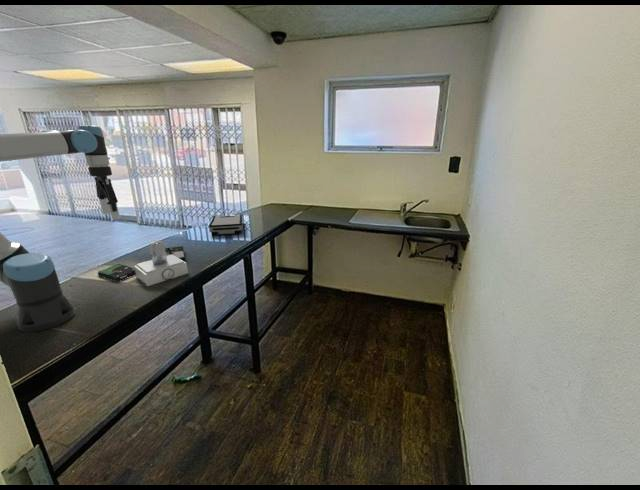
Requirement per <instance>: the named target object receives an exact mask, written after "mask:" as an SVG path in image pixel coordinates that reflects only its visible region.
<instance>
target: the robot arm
mask: <svg viewBox="0 0 640 490" xmlns="http://www.w3.org/2000/svg"><path fill="white" fill-rule="evenodd" d="M105 142H106V141H105V137H104V133H103V129H102V128H101V127H100V126H98V125H78V126H77V129H64V130H63V129H43V130H42V131H37V132H20V133H18V132H17V133H3V134H0V163H1V162H2V163H3V162H11V161H17V160H18V161H20V160H27V159H36V158H43V157H44V158H45V157H53V156H62V155H73V154H84V156H85V157H84V158H85V161H86V165H87V167H88V168H87V169H88V172H89V175H90V177H94V182H95V189H96V196H97V199H99V203H100V207H101V213H102V215H109V214H110V216H111V220H118V219H121V218H120V212H119V209H118V208H119V207H118V202H119V200H118V199H117V196H116V193H115V189H114V187H113V184H112V180H111V178H108V177H109V176H110V177H111V176H112V175H113V172H112V168H111V166H109V165H110V159H111V157H109V156H108V151H107V147H106V143H105ZM0 282H1V283H2V284H4V285H5V286H7V287H8V288H10V289H11V290H10V291H11V292H12V295H13V297H14V299H15V302H16V304H17V314H16V315H17V317H16V325H17V328H18V329H19V331H21V332H25V333H33V332H41V331H45V330H49V329H51V328H54V327H57V326H59V325H61V324H64V323H65V322H67V321H69V320H70V319H72V317H74V316H75V315H76V308H75V306H74V304H73V303H72V302H71V301H70V300H69V299H68V298H67V297H66V295H64V293H63V290H62V286H61V282H60V281H59V277H58V274H57V271H56V268H55V264H54V261H53V260H52V257H50V256H49V255H48V254H46V253H43V252H42V253H41V252H37V253H36V252H29V251H28V250H27V249H26V248H25V247H24V246H23V245H22V244H21V243H20V242H17V241H10V240H9V239H8V238H7V237H6V236H4V234H3V233H2V232H0Z"/></svg>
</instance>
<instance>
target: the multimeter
mask: <svg viewBox="0 0 640 490" xmlns="http://www.w3.org/2000/svg"><path fill="white" fill-rule="evenodd" d="M165 251H166V256H168V255H174V256H176V257H178V258H179V259H181V260H183V261H184V262H186V257H185V250H184V246H182V245H180V246H172V247H165Z"/></svg>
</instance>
